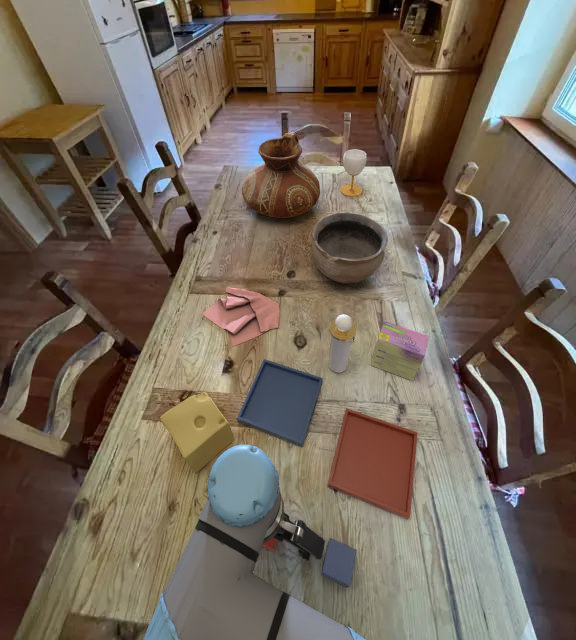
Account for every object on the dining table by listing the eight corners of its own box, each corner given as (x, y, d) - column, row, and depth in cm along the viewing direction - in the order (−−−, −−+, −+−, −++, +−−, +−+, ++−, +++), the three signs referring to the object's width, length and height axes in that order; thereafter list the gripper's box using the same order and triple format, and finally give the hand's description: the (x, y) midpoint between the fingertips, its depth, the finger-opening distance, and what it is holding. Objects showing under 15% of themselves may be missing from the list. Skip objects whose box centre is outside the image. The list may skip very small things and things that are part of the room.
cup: (338, 194, 139) (341, 158, 128) (342, 182, 145) (345, 147, 134) (360, 197, 137) (365, 161, 125) (364, 186, 143) (369, 150, 132)
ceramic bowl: (296, 268, 110) (295, 232, 99) (341, 237, 120) (345, 201, 109) (348, 308, 97) (354, 272, 87) (394, 270, 107) (404, 234, 97)
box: (417, 361, 85) (429, 335, 77) (413, 381, 81) (425, 356, 73) (376, 346, 88) (383, 320, 80) (370, 365, 85) (377, 339, 76)
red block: (274, 552, 60) (272, 548, 56) (251, 541, 61) (247, 536, 57) (283, 522, 63) (281, 515, 59) (261, 511, 64) (258, 505, 60)
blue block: (347, 587, 56) (350, 586, 52) (320, 575, 58) (322, 572, 53) (353, 554, 59) (356, 549, 55) (328, 542, 61) (329, 537, 56)
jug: (322, 226, 124) (325, 164, 107) (240, 229, 125) (230, 168, 107) (316, 182, 146) (318, 125, 129) (246, 185, 146) (238, 128, 129)
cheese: (212, 403, 79) (203, 383, 72) (238, 441, 73) (231, 423, 66) (171, 434, 75) (157, 416, 68) (195, 478, 68) (183, 463, 62)
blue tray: (302, 447, 72) (302, 444, 70) (237, 422, 76) (236, 418, 75) (322, 381, 82) (322, 378, 81) (264, 362, 86) (263, 358, 85)
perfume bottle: (339, 380, 82) (346, 334, 68) (321, 365, 85) (324, 317, 71) (354, 365, 85) (364, 317, 71) (336, 350, 88) (342, 302, 74)
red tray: (407, 519, 63) (410, 517, 61) (327, 486, 67) (328, 483, 65) (415, 435, 73) (417, 432, 71) (345, 411, 77) (346, 407, 75)
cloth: (288, 330, 93) (288, 325, 91) (208, 353, 88) (206, 348, 87) (268, 278, 107) (268, 272, 105) (199, 295, 103) (197, 290, 101)
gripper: (350, 512, 46) (340, 535, 61) (192, 445, 53) (217, 480, 68) (336, 584, 41) (328, 590, 56) (164, 500, 48) (197, 524, 63)
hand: (267, 529), depth 62 cm, fingers open, 13 cm apart
